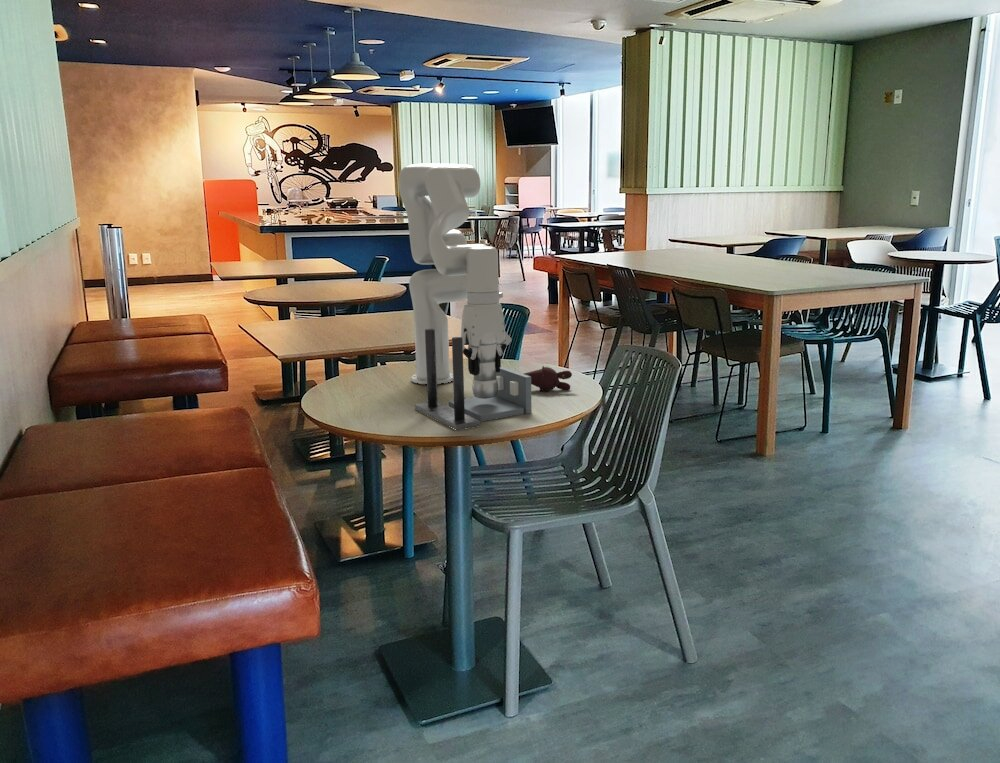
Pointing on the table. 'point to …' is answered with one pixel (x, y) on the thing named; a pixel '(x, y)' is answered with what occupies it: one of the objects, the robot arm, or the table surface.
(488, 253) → the robot arm
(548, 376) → the dark brown rounded figure
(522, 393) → the switch board
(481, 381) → the silver bottle
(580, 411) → the table surface
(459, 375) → the cord gate
